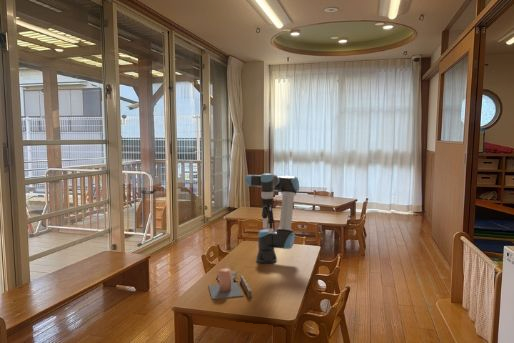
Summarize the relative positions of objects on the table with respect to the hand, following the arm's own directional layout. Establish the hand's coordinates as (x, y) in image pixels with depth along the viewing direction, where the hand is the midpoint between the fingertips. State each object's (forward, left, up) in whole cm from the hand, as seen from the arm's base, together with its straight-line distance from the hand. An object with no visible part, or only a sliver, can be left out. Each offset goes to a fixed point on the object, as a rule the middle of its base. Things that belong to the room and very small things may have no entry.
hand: (267, 230), depth 235 cm
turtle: (-5, -26, -32) cm, 42 cm away
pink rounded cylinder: (+12, -30, -31) cm, 45 cm away
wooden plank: (+12, -18, -32) cm, 38 cm away
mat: (+12, -30, -32) cm, 45 cm away
